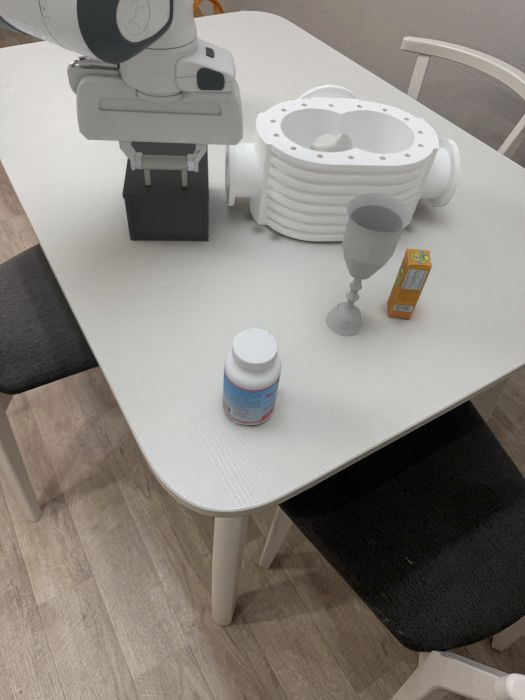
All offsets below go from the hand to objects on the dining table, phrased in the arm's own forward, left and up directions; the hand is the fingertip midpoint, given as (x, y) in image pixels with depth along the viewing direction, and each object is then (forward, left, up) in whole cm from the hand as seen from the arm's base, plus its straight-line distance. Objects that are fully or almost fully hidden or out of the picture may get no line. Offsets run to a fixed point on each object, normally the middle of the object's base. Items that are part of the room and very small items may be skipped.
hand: (165, 168), depth 69 cm
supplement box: (+32, -16, -11) cm, 37 cm away
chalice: (+24, -18, -11) cm, 32 cm away
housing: (+26, +9, -11) cm, 30 cm away
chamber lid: (0, +5, -3) cm, 6 cm away
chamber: (0, +5, -11) cm, 12 cm away
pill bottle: (+10, -31, -11) cm, 34 cm away
